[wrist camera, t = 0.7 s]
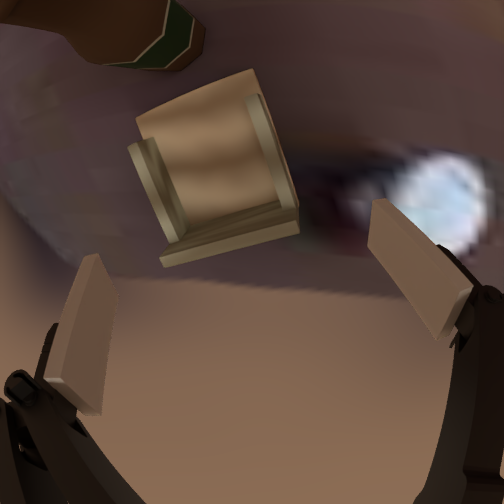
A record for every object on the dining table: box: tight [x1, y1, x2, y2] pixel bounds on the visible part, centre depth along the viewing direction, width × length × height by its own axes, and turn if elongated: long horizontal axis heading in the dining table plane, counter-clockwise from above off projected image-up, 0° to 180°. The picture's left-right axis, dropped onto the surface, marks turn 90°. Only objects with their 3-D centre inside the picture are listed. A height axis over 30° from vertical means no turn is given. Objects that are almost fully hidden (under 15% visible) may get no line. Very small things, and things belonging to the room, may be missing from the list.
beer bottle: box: [0, 0, 205, 71], centre depth 15 cm, size 8×8×24 cm
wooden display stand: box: [127, 68, 300, 268], centre depth 27 cm, size 15×14×8 cm
